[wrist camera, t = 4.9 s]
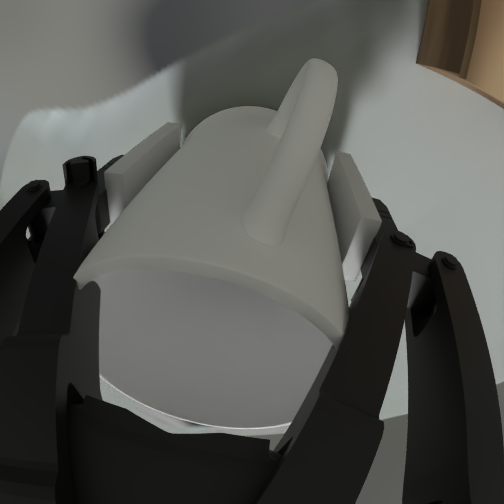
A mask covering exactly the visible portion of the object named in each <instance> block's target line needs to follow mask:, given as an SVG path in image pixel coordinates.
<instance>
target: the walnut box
mask: <svg viewBox="0 0 504 504" xmlns="http://www.w3.org/2000/svg"><path fill="white" fill-rule="evenodd" d="M416 63H417V64H419V65H421V66H424V67H426V68H428V69H431V70H433V71H435V72H437V73H439V74H441V75H444V76H446V77H448V78H450V79H452V80H454V81H456V82H458V83H460V84H462V85H464V86H465V87H467V88H469V89H471V90H473V91H475V92H476V93H478V94H480V95H482V96H483V97H485V98H487V99H489V100H490V101H492V102H494V103H495V104H497V105H498V106H500V107H502V108H503V109H504V0H429V6H428V11H427V16H426V22H425V26H424V31H423V36H422V41H421V45H420V49H419V54H418V58H417V62H416Z"/></svg>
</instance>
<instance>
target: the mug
mask: <svg viewBox="0 0 504 504" xmlns="http://www.w3.org/2000/svg"><path fill="white" fill-rule="evenodd" d="M337 87H338V76H337V72H336V70H335V69H334V67H333V66H332V65H330V64H329V63H327V62H325V61H323V60H321V59H317V58H312V59H309V60H308V61H307V62H306V63H305V64H304V65H303V67H302V68H301V70H300V71H299V73H298V74H297V76H296V78H295V79H294V81H293V83H292V85H291V86H290V88H289V90H288V92H287V94H286V96H285V97H284V99H283V101H282V103H281V105H280V107H279V109H278V111H276V110H272V109H269V108H264V107H257V106H240V107H233V108H229V109H225V110H222V111H220V112H217V113H215V114H213V115H211V116H209V117H207V118H206V119H204V120H203V121H202V122H200V123H199V124H198V125H197V126H196V127H195V128H194V129H193V130H192V131H191V132H190V133H189V135H188V136H187V138H186V139H185V141H184V142H183V144H182V146H181V148H180V149H179V150H178V151H177V152H176V153H175V154H174V155H173V156H172V157H171V158H170V159H169V160H168V161H167V163H166V164H165V165H164V166H163V167H162V168H161V169H160V170H159V171H158V172H157V173H156V174H155V175H154V176H153V178H152V179H151V180H150V181H149V182H148V183H147V184H146V185H145V186H144V187H143V189H142V190H141V191H140V192H139V193H138V194H137V195H136V197H135V198H134V199H133V200H132V201H131V202H130V203H129V205H128V206H127V207H126V208H125V209H124V211H123V212H122V213H121V214H120V215H119V216H118V218H117V219H116V220H115V221H114V223H113V224H112V225H111V226H110V227H109V229H108V230H107V231H106V232H105V234H104V235H103V236H102V237H101V239H100V240H99V241H98V243H97V244H96V245H95V246H94V248H93V249H92V250H91V252H90V253H89V254H88V256H87V257H86V258H85V260H84V261H83V262H82V264H81V265H80V267H79V269H78V270H77V272H76V273H75V275H74V277H73V278H74V279H75V280H76V281H77V286H78V289H79V290H80V289H82V288H83V287H84V286H85V285H86V284H87V283H88V282H90V281H95V282H96V283H97V284H98V285H99V287H100V290H101V296H100V317H99V377H101V378H102V379H103V380H104V381H106V382H107V383H108V384H109V385H111V386H112V387H114V388H115V389H117V390H118V391H120V392H121V393H123V394H124V395H126V396H128V397H129V398H131V399H133V400H135V401H137V402H139V403H141V404H143V405H145V406H147V407H149V408H151V409H154V410H156V411H158V412H161V413H164V414H166V415H169V416H172V417H175V418H178V419H182V420H185V421H189V422H193V423H198V424H202V425H208V426H214V427H222V428H233V429H261V428H272V427H279V426H285V425H289V424H291V423H292V421H293V419H294V417H295V416H296V414H297V412H298V410H299V408H300V407H301V405H302V403H303V401H304V399H305V398H306V396H307V394H308V392H309V390H310V388H311V386H312V384H313V382H314V381H315V379H316V377H317V375H318V373H319V371H320V369H321V367H322V365H323V363H324V361H325V359H326V357H327V355H328V353H329V351H330V348H331V346H332V345H334V347H335V348H336V349H337V347H338V346H339V344H340V342H341V341H342V339H343V337H344V335H345V332H346V329H347V325H348V322H349V317H350V314H349V306H348V299H347V293H346V286H345V279H344V273H343V267H342V261H341V255H340V250H339V244H338V239H337V233H336V228H335V223H334V218H333V213H332V208H331V203H330V198H329V194H328V189H327V183H328V169H327V164H326V160H325V157H324V155H323V152H322V150H321V145H322V143H323V140H324V137H325V134H326V131H327V128H328V125H329V122H330V119H331V115H332V112H333V108H334V104H335V99H336V94H337Z"/></svg>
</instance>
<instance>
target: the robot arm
mask: <svg viewBox="0 0 504 504" xmlns="http://www.w3.org/2000/svg"><path fill="white" fill-rule="evenodd" d="M181 126H182V124H179V123H169V122H168V123H167V124H165V125H164V126H162V127H161V128H160V129H158V130H157V131H155V132H154V133H153V134H151V135H150V136H149V137H147V138H146V139H145V140H143V141H142V142H141V143H139V144H138V145H137V146H135V147H134V148H133V149H132V150H130V151H129V152H128V153H127V154H125V155H120V156H118V157H116V158H113V159H112V160H110V161H109V162H108V163H107V164H105V165H104V166H103V167H102V168H101V169H99V170H98V171H97V166H96V158H94V157H91V156H81V157H76V158H73V159H70V160H68V161H66V162H65V163H64V164H63V171H64V178H65V187H64V189H63V190H58V191H50V187H49V182H48V181H46V180H34V181H31V182H30V183H28V184H26V185H25V186H24V187H22V188H21V189H20V190H19V191H18V192H17V193H16V194H15V195H14V196H13V197H12V198H11V200H10V201H9V202H8V203H7V204H6V205H5V206H4V207H3V208H2V209H1V210H0V504H355V502H356V500H357V498H358V496H359V494H360V491H361V489H362V486H363V485H364V482H365V480H366V477H367V475H368V473H369V470H370V467H371V465H372V463H373V460H374V457H375V455H376V452H377V449H378V447H379V444H380V441H381V438H382V435H383V430H384V422H383V421H381V420H380V419H379V414H380V410H381V407H382V404H383V401H384V397H385V394H386V391H387V387H388V384H389V381H390V377H391V374H392V370H393V366H394V362H395V359H396V355H397V351H398V347H399V342H400V338H401V334H402V329H403V324H404V320H405V328H406V342H407V360H408V434H407V452H406V464H405V474H404V484H403V497H402V504H504V447H503V435H502V424H501V415H500V408H499V402H498V395H497V389H496V383H495V378H494V373H493V368H492V363H491V359H490V354H489V350H488V346H487V342H486V338H485V334H484V331H483V327H482V324H481V320H480V317H479V313H478V310H477V307H476V304H475V301H474V298H473V295H472V292H471V289H470V286H469V283H468V280H467V278H466V275H465V272H464V270H463V267H462V265H461V264H460V262H459V261H458V260H457V259H456V258H455V257H454V256H453V255H451V254H448V253H446V252H443V251H437V252H436V253H435V254H434V256H433V258H432V260H431V259H429V258H427V257H425V256H423V255H420V254H418V253H417V252H416V246H415V243H414V242H413V240H412V239H411V238H410V237H408V236H407V235H405V234H404V233H402V232H400V231H398V229H397V227H396V225H395V223H394V221H393V219H392V217H391V215H390V213H389V210H388V208H387V206H385V205H384V204H383V203H382V202H381V201H380V200H379V199H375V198H371V195H370V193H369V191H368V189H367V187H366V185H365V183H364V181H363V178H362V176H361V174H360V172H359V170H358V168H357V166H356V164H355V162H354V160H353V158H352V156H351V154H348V153H344V152H340V151H336V154H335V158H334V162H333V165H332V169H331V172H330V176H329V179H328V183H327V189H328V194H329V198H330V203H331V208H332V213H333V218H334V223H335V228H336V233H337V239H338V244H339V250H340V255H341V261H342V267H343V273H344V279H345V280H351V281H355V280H356V278H357V276H358V274H359V272H360V270H361V273H362V277H363V278H362V280H361V282H360V284H359V286H358V288H357V290H356V292H355V294H354V295H353V297H352V299H351V301H352V302H351V304H350V307H349V314H350V317H349V322H348V325H347V329H346V332H345V335H344V337H343V339H342V341H341V342H340V344H339V346H338V347H337V349H336V348H335V347H334V345H332V346H331V348H330V351H329V353H328V355H327V357H326V359H325V361H324V363H323V365H322V367H321V369H320V371H319V373H318V375H317V377H316V379H315V381H314V382H313V384H312V386H311V388H310V390H309V392H308V394H307V396H306V398H305V399H304V401H303V403H302V405H301V407H300V408H299V410H298V412H297V414H296V416H295V417H294V419H293V421H292V423H291V424H290V426H289V428H288V429H287V431H286V433H285V434H284V436H283V438H282V439H281V440H280V442H279V443H278V445H277V446H276V448H275V449H274V451H271V450H269V445H270V440H267V439H259V438H252V437H245V436H238V435H232V434H226V433H205V434H172V433H168V432H166V431H164V430H162V429H160V428H158V427H156V426H155V425H153V424H151V423H149V422H147V421H146V420H144V419H142V418H141V417H139V416H137V415H135V414H134V413H132V412H131V411H129V410H127V409H125V408H122V407H119V406H116V405H113V404H110V403H107V402H105V401H103V400H102V397H101V392H100V379H99V317H100V296H101V290H100V287H99V285H98V284H97V283H96V282H95V281H90V282H88V283H87V284H86V285H85V286H84V287H83V288H82V289H80V290H79V289H78V286H77V281H76V280H75V279H74V278H73V277H74V275H75V273H76V272H77V270H78V269H79V267H80V265H81V264H82V262H83V261H84V260H85V258H86V257H87V256H88V254H89V253H90V252H91V250H92V249H93V248H94V246H95V245H96V244H97V243H98V241H99V240H100V239H101V237H102V236H103V235H104V234H105V232H104V229H105V228H106V227H107V226H108V224H109V223H110V226H111V225H112V224H113V223H114V221H115V220H116V219H117V218H118V216H119V215H120V214H121V213H122V212H123V211H124V209H125V208H126V207H127V206H128V205H129V203H130V202H131V201H132V200H133V199H134V198H135V197H136V195H137V194H138V193H139V192H140V191H141V190H142V189H143V187H144V186H145V185H146V184H147V183H148V182H149V181H150V180H151V179H152V178H153V176H154V175H155V174H156V173H157V172H158V171H159V170H160V169H161V168H162V167H163V166H164V165H165V164H166V163H167V161H168V160H169V159H170V158H171V157H172V156H173V155H174V154H175V153H176V152H177V151H178V150H179V149H180V142H181ZM27 227H28V228H29V232H30V235H31V236H30V237H29V239H28V240H27V238H26V229H27Z"/></svg>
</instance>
